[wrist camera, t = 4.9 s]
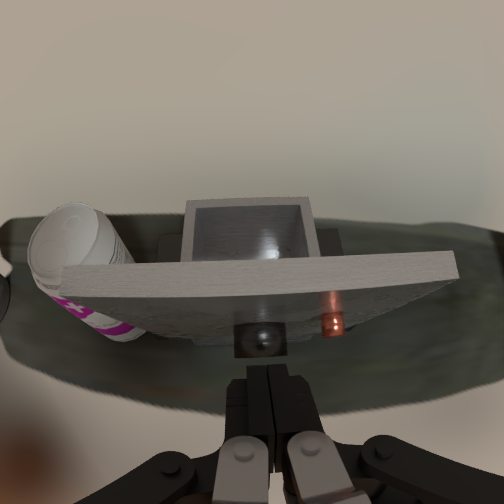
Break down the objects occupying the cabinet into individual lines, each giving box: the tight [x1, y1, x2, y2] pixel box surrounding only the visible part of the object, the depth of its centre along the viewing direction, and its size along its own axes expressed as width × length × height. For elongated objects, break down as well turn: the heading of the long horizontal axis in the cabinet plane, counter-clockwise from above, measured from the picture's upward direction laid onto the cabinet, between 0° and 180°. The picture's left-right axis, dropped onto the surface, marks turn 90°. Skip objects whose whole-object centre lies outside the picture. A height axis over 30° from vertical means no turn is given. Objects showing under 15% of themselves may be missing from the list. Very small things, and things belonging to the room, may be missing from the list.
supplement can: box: [27, 202, 146, 342], centre depth 25 cm, size 8×8×15 cm
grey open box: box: [151, 197, 357, 346], centre depth 28 cm, size 17×14×10 cm
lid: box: [59, 251, 459, 358], centre depth 14 cm, size 13×14×3 cm
